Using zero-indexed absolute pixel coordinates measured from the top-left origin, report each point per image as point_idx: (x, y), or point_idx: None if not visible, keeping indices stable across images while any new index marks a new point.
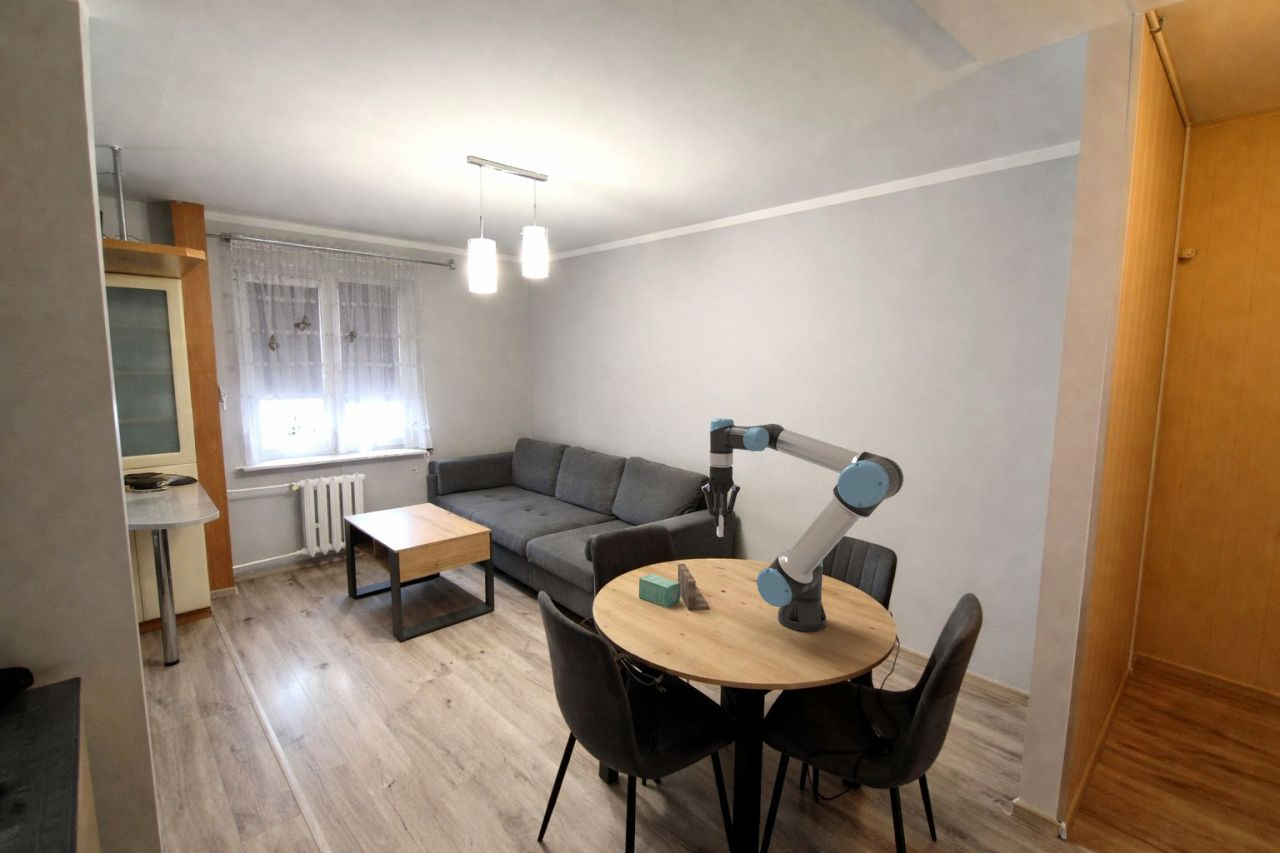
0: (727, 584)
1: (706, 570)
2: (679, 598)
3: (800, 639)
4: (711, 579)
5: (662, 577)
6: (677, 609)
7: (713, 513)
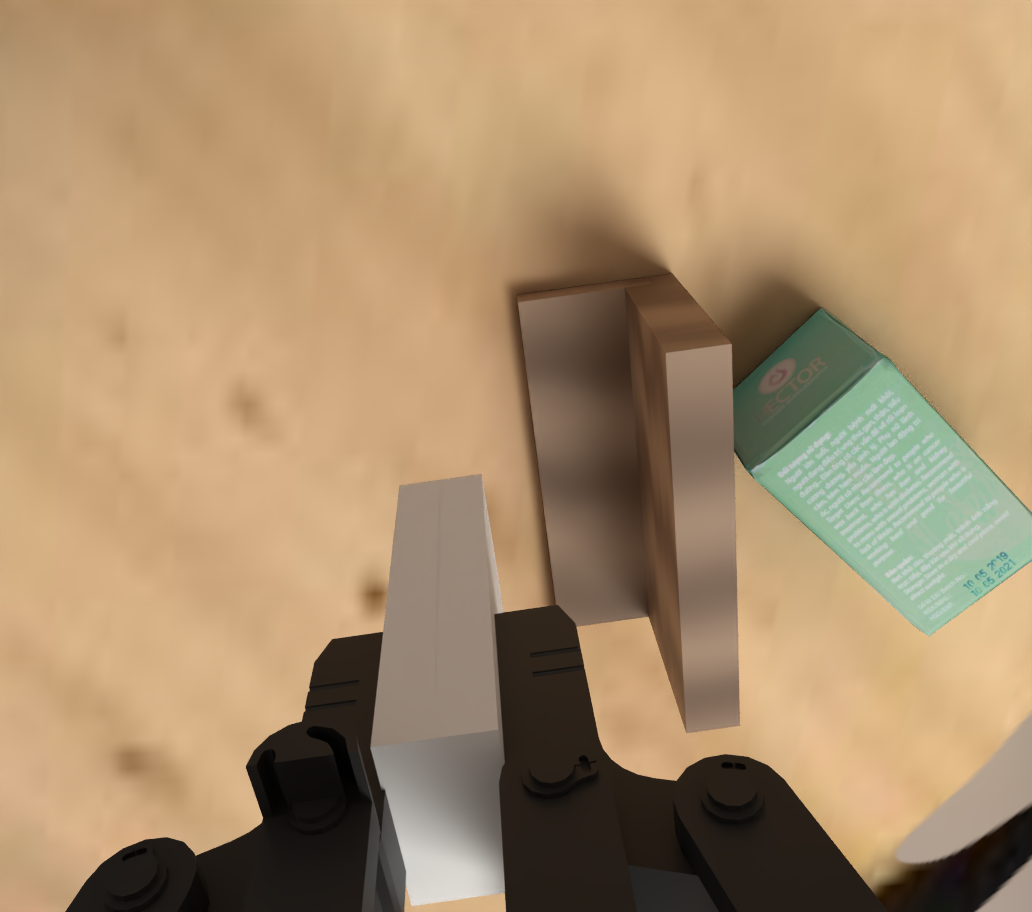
0: None
1: None
2: None
3: None
4: None
5: (870, 563)
6: (748, 283)
7: (695, 807)
